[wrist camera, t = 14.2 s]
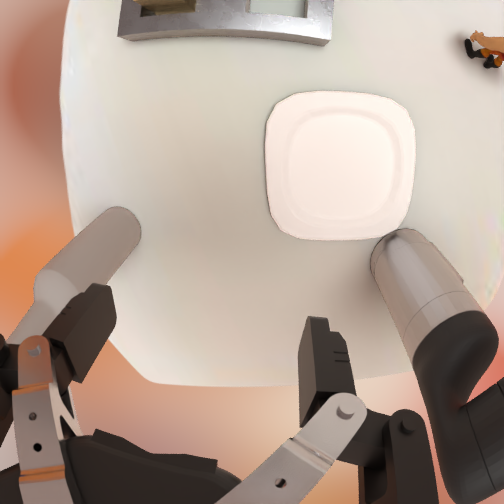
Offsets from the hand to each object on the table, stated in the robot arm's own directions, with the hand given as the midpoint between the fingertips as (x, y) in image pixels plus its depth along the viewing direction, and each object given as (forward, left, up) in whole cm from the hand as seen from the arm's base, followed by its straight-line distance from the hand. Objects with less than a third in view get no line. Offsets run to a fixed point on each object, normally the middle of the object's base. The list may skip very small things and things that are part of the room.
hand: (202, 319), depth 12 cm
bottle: (+17, +10, -26) cm, 33 cm away
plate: (-11, -1, -27) cm, 29 cm away
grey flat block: (+4, -20, -26) cm, 33 cm away
